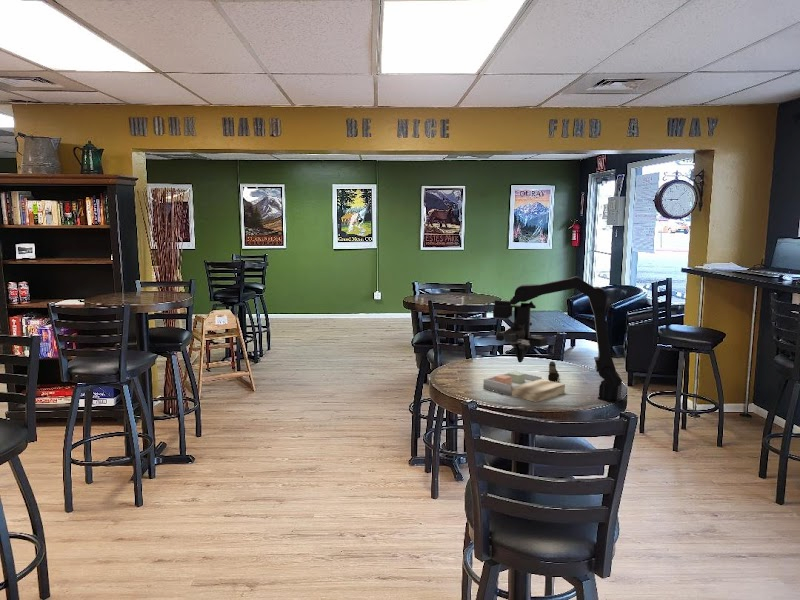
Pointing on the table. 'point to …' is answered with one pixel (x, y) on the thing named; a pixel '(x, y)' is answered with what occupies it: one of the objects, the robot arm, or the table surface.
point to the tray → (505, 388)
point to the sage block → (517, 377)
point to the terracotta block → (503, 379)
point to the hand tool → (553, 372)
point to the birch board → (538, 390)
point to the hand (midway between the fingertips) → (520, 362)
